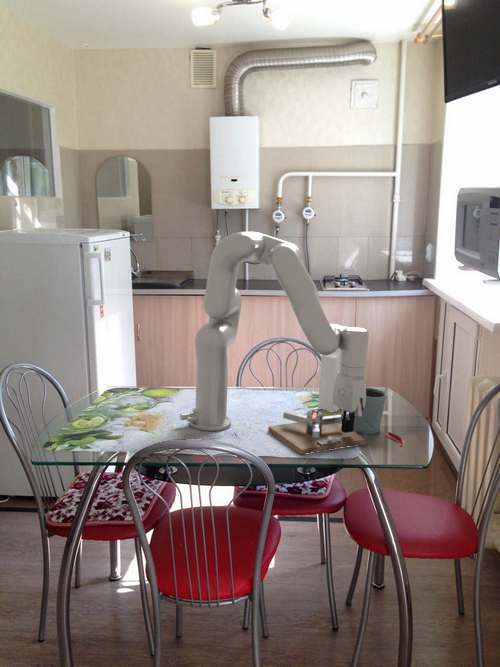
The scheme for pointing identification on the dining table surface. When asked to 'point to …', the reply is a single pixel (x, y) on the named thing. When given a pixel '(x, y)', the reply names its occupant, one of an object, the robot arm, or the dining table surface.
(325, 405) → the milk
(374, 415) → the grey-green cup
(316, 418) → the capstan
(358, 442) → the board
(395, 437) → the cayenne pepper
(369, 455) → the dining table surface
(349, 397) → the robot arm
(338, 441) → the level window
